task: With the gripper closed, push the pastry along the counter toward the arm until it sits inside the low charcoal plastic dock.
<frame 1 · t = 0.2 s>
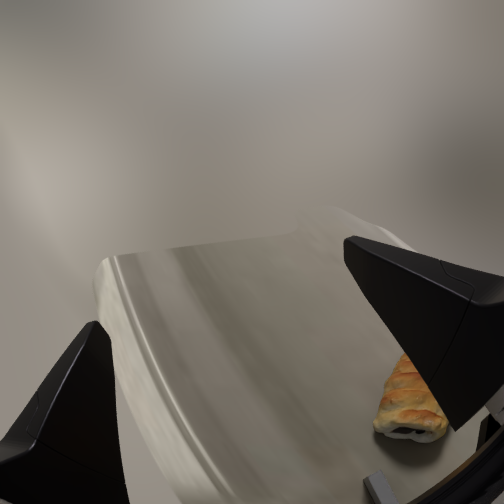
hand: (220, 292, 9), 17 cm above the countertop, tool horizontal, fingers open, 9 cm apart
pastry: (413, 401, 18), on the countertop
dock: (467, 482, 9), on the countertop
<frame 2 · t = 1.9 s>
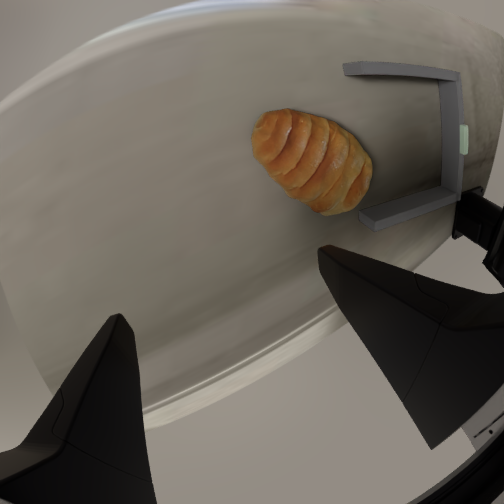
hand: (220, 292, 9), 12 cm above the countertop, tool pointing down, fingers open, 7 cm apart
pastry: (307, 160, 21), on the countertop
dock: (405, 138, 21), on the countertop
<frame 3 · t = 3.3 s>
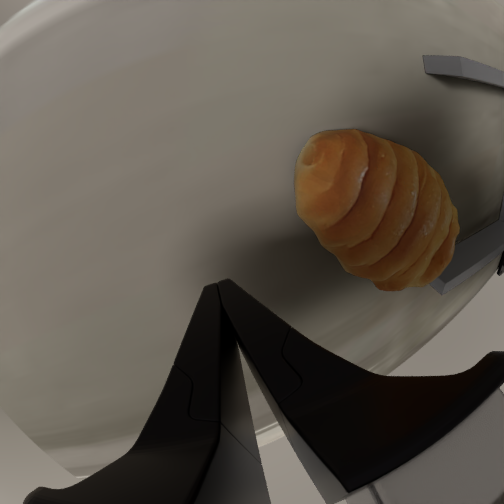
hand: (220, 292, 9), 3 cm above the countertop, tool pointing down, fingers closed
pastry: (369, 207, 13), on the countertop
dock: (478, 165, 13), on the countertop
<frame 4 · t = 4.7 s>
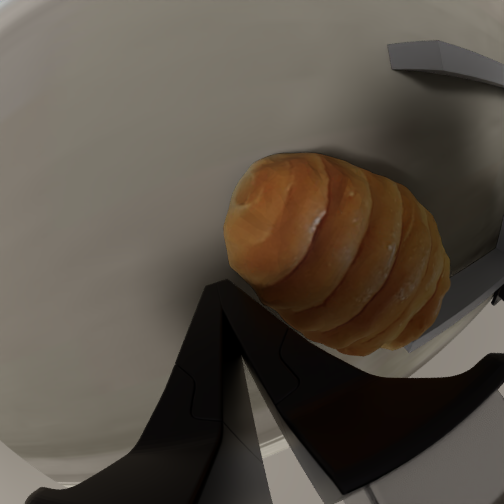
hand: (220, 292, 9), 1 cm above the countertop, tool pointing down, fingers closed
pastry: (338, 249, 11), on the countertop, touching gripper
dock: (471, 188, 11), on the countertop
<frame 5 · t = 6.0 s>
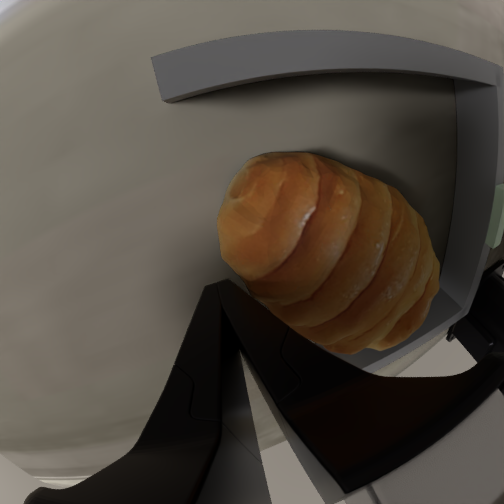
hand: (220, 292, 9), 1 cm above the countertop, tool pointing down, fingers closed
pastry: (329, 249, 11), on the countertop, touching gripper
dock: (366, 225, 10), on the countertop
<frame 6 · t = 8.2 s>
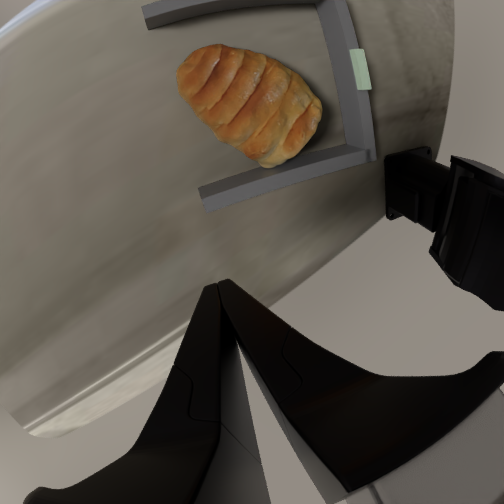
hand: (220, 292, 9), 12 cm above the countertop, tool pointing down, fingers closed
pastry: (247, 105, 17), on the countertop
dock: (258, 82, 16), on the countertop
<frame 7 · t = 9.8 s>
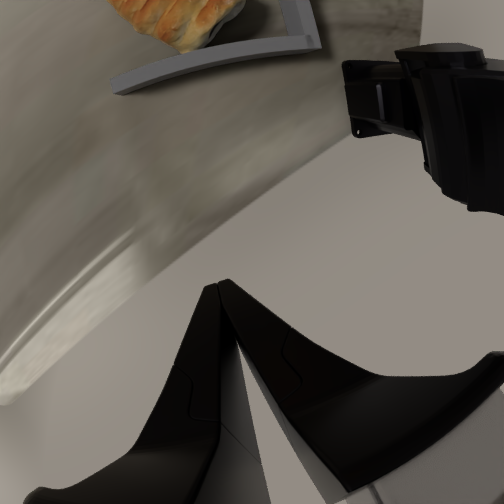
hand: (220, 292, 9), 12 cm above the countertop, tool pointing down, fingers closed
pastry: (175, 7, 12), on the countertop
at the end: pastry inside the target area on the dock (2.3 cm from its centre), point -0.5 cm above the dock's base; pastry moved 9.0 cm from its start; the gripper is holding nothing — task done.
